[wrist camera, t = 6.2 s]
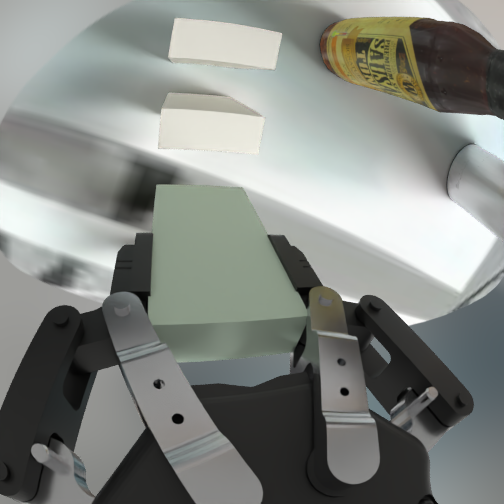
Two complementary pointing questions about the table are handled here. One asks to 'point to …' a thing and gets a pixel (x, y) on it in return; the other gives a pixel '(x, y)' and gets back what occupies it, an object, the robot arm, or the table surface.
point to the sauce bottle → (419, 62)
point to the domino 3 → (218, 278)
